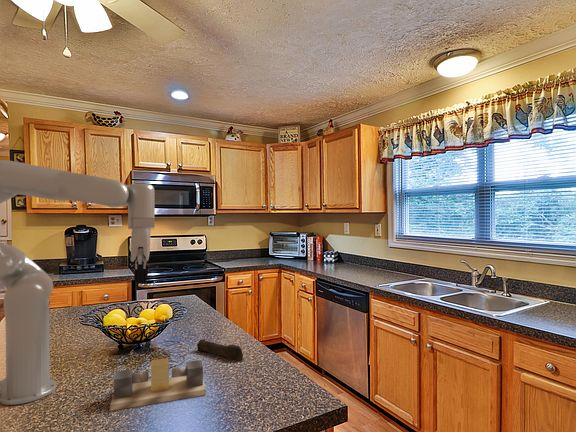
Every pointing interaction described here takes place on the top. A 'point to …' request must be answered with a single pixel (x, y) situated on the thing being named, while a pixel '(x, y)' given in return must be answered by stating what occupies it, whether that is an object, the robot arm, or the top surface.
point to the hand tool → (221, 350)
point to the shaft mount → (138, 391)
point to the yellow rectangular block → (159, 375)
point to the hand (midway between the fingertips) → (141, 279)
